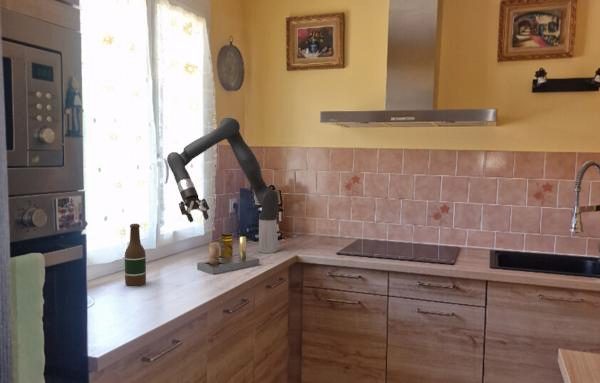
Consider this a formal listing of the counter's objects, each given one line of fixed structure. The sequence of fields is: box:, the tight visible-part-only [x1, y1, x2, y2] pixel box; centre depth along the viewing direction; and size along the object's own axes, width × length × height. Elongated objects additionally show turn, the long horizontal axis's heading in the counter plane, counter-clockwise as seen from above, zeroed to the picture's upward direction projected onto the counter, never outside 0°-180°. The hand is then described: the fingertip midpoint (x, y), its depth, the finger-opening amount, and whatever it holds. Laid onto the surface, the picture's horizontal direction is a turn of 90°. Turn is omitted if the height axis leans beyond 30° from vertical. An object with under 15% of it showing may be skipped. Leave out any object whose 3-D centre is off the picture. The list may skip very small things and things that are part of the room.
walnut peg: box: [208, 242, 220, 266], centre depth 210 cm, size 4×4×12 cm
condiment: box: [219, 232, 234, 259], centre depth 236 cm, size 7×8×12 cm
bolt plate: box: [196, 236, 260, 275], centre depth 215 cm, size 26×12×13 cm, turn 136°
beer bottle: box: [124, 223, 147, 287], centre depth 185 cm, size 8×8×24 cm
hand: (199, 220), depth 222 cm, fingers open, 8 cm apart
